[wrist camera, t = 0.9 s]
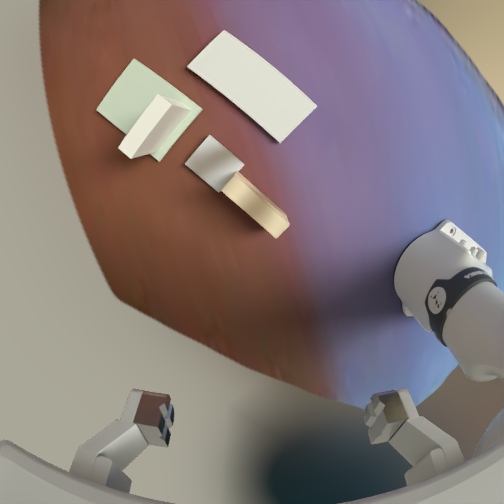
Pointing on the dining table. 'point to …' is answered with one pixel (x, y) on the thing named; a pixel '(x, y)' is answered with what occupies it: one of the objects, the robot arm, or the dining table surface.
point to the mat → (142, 101)
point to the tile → (154, 126)
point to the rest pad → (253, 85)
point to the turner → (235, 184)
